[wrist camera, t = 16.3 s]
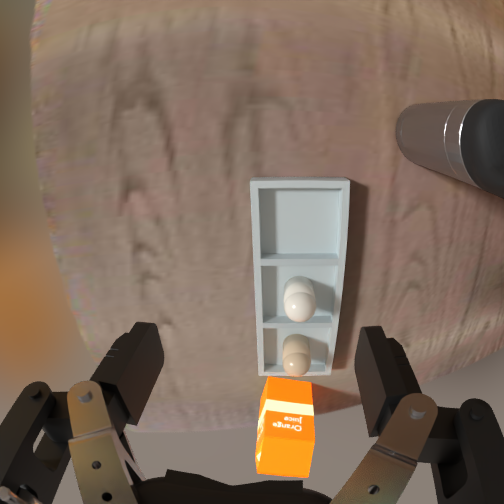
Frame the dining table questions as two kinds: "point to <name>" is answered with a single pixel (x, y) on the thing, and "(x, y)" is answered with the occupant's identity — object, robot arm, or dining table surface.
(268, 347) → the white divided tray
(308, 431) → the orange juice
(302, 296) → the cream egg
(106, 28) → the dining table surface
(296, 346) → the tan egg
